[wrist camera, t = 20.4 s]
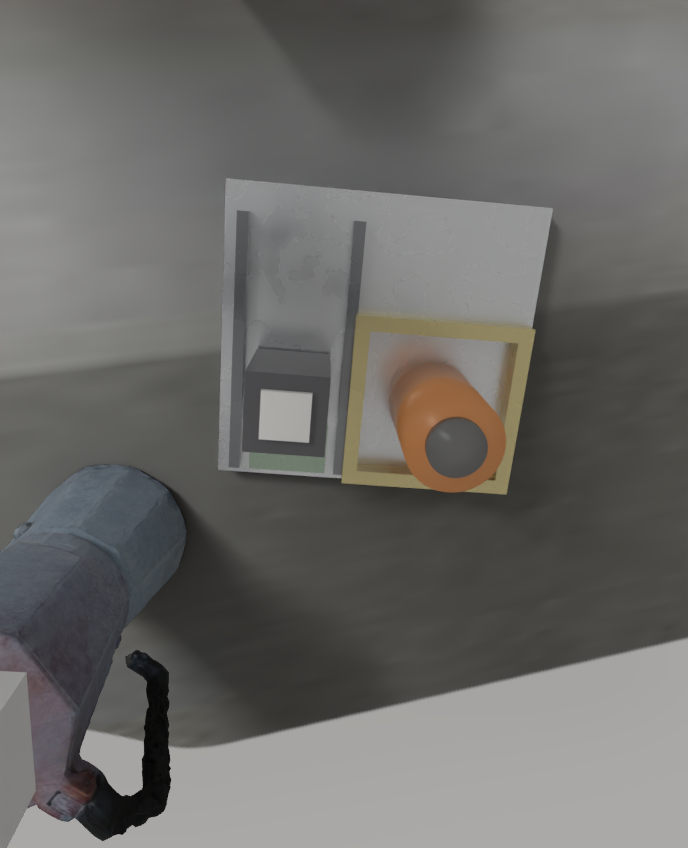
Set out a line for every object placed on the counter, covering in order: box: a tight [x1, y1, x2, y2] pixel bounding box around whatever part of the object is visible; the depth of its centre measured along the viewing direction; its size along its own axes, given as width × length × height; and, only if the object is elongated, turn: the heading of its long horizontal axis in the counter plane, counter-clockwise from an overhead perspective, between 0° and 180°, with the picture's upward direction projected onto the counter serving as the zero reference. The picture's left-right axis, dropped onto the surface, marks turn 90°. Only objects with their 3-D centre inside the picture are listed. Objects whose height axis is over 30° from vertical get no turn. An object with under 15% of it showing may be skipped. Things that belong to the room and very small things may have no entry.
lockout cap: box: [390, 363, 506, 493], centre depth 33 cm, size 5×5×8 cm
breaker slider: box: [242, 348, 331, 457], centre depth 33 cm, size 4×4×6 cm
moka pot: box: [0, 465, 187, 841], centre depth 30 cm, size 10×15×20 cm, turn 56°
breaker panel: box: [218, 178, 553, 495], centre depth 35 cm, size 16×17×3 cm
